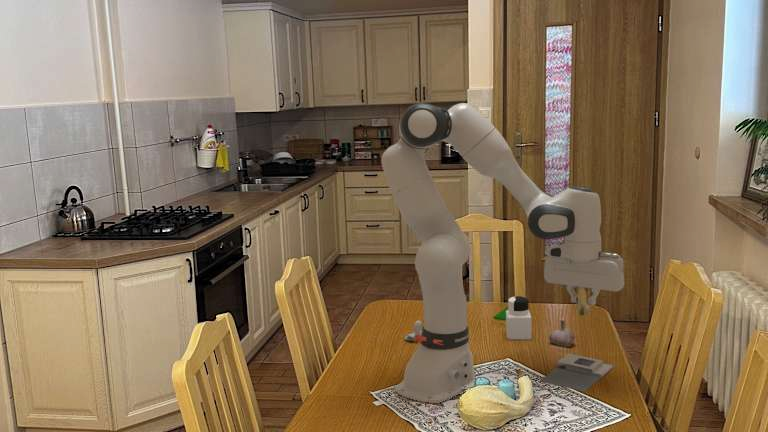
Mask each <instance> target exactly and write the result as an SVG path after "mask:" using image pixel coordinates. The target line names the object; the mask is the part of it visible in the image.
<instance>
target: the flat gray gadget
mask: <svg viewBox="0 0 768 432" xmlns="http://www.w3.org/2000/svg"><path fill="white" fill-rule="evenodd" d="M603 363H604V360H601V359H598V358H597V359H596V358H592V357H587V356H583V355H577V354H573V353H567V354H566V355H564V356H563V357H562V358H561V359H559V360H557V361H556V365H557V366H565V367H566V370H570V371H574V372H579V373H583V374H588V375H593V376H597V377H602V376H603V377H604V376H605V375H606V374H607V373H609V372H610V371H611V370H612V369H613V368H612V365H613V364H611V365H607V364H608V363H606V364H603ZM579 364H584V365H588V366H584V365H579ZM609 370H610V371H609ZM603 377H602V378H603Z"/></svg>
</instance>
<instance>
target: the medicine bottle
mask: <svg viewBox="0 0 768 432" xmlns="http://www.w3.org/2000/svg"><path fill="white" fill-rule="evenodd" d="M507 301H508V302H507V305H508V306H507V307H508V310H506V325H505V333H506V337H507V340H511V341H512V340H515V341H517V340H519V341H520V340H521V341H523V340H524V341H526V340H528V341H529V340H532V333H533V332H532V331H533V330H532V328H533V327H532V322H533V321H532V319H533V318H532V315H531V311H530V310H529V305H530V304H529V299H528V298H527V297H525V296H521V295H520V296H518V295H516V296H512V297H509V298H508V300H507Z"/></svg>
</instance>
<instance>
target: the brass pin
mask: <svg viewBox="0 0 768 432" xmlns="http://www.w3.org/2000/svg"><path fill="white" fill-rule="evenodd" d="M576 295H577V303H576V305H577V307H576V308H577V309H576V310H577V313H576V314H577V315H578V316H588V315H590V309H591V308H590V305H588V303H587V302H588V301H587V298H589V297H590V288H585V287H578V286H576Z"/></svg>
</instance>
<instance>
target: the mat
mask: <svg viewBox="0 0 768 432" xmlns="http://www.w3.org/2000/svg"><path fill="white" fill-rule="evenodd" d="M603 364H607V365H612V369H613V368H614V367H615V366H616V365H614V364H610V363H605V362H603ZM579 365H584V364H579ZM584 366H588V365H584ZM610 371H611V370H609V371H608V372H610ZM603 377H604V376H602V377H597V376H593V375H588V374H583V373H579V372H574V371H570V370H566V367H565V366H560V365H558V366H557V367H556V368H555V369H553V370H552V371H551V372H549V373H548V374H547V375H545V376H544V377H542V378H541V379H540V380H539V382H542V383H545V384H550V385H555V386H559V387H562V388H563V387H564V388H567V389H572V390H576V391H580V392H585V393H586V392H587V391H588V390H589V389H591V387H592V386H594V385H595V384H596V383H597V382H598V381H599V380H601V379H602V378H603Z"/></svg>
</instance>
